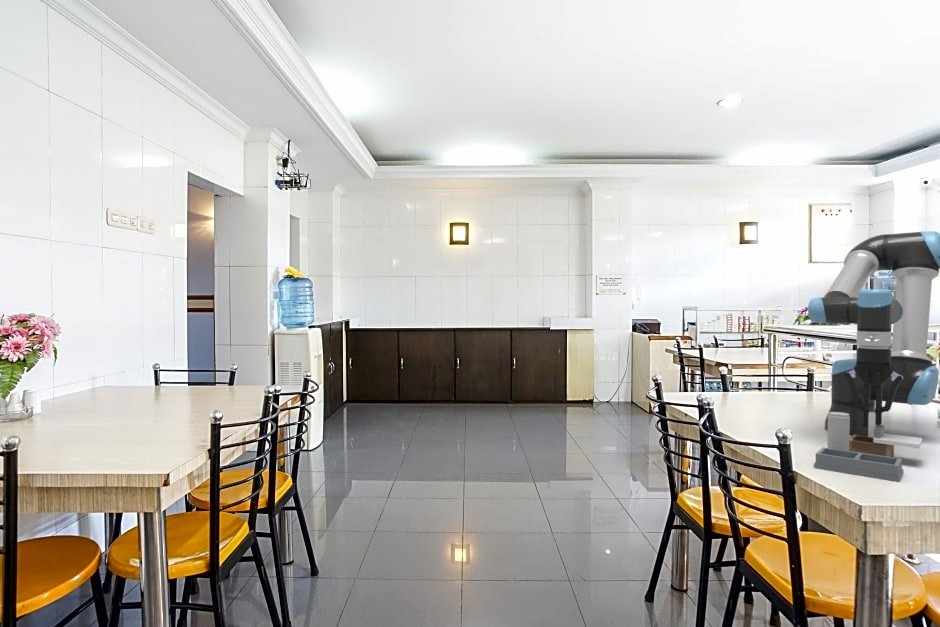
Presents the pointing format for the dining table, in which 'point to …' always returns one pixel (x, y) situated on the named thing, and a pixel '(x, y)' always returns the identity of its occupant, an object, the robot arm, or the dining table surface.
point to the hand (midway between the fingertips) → (872, 436)
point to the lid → (895, 439)
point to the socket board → (860, 464)
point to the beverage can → (838, 430)
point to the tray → (869, 446)
